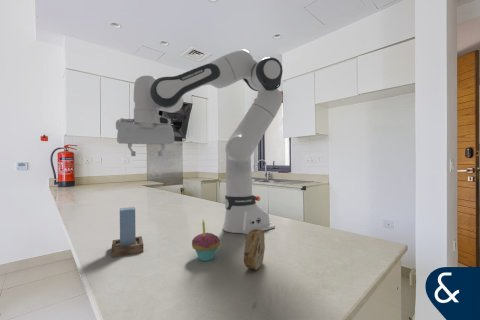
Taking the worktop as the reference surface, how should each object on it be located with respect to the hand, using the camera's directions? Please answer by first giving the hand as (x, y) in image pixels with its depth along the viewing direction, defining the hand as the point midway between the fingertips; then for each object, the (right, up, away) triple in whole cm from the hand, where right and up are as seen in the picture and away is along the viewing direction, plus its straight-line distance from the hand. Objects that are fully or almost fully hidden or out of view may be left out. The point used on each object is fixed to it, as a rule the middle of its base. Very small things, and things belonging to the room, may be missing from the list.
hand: (146, 156), depth 89 cm
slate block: (-2, -30, -12) cm, 32 cm away
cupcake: (+25, -31, -19) cm, 44 cm away
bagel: (+39, -31, -25) cm, 56 cm away
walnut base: (-2, -31, -12) cm, 33 cm away
